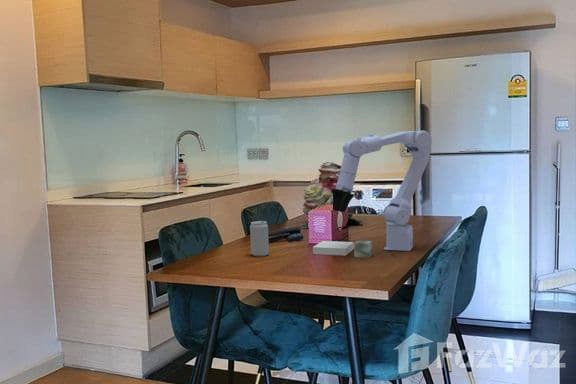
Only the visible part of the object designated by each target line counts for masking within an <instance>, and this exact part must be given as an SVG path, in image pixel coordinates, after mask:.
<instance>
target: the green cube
mask: <svg viewBox="0 0 576 384" xmlns="http://www.w3.org/2000/svg"><path fill="white" fill-rule="evenodd" d="M372 248H373V247H372V240H356V241H355V242H354V249H353V250H354V255H353V256H354V258H362V257H363V258H365V259H369V258H371V256H372V255H373V253H372V252H373V249H372Z"/></svg>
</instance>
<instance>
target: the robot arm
mask: <svg viewBox="0 0 576 384" xmlns="http://www.w3.org/2000/svg"><path fill="white" fill-rule="evenodd" d="M432 143H433V140H432V138H431V135H430V133H429V132H428V131H426V130H424V129H423V130H408V131H399V132H394V133H392V134H387V135H385V136H384V135H383V136H379V135H377V134H375V135H374V133H371V134H369V135H368V136H365V137H357V138H356V139H353V140H351V139H350V140H348V141H346V142H345V143H344V145H343V146H342V151H343V157H342V158H343V159H342V161H341V165H340V166H341V169H340V174H339V178H338V182H337V184H335V183H334V184H333V185H335V186H336V189H337V190H336V189H332V195H333V210H335V211H339V212H340V213H341V212H342V213H345V212H346V210H347V208H348V206H349V204H350V202H351V200H352V199H353V198H354V197H355V193H353V192H352V191H354V185H355V180H356V177H357V176H356V175H357V172H358V167H359V164H360V160H361V157H362V156H364V155H367V154H370V153H375V152H379V151H380V150H381V149H382V147H384V146H389V145H393V144H394V145H395V144H401V145H404V147H405V148H406V149H407V150H408V152H409V153H410V154H411V157H412V160H411V163H410V165H409V167H408V169H407V171H406V174H405V175H404V178H403V179H402V182H401V184H400V186H399V188H398V191H397V193H396V196H394V197H393V198H391V200H390V201H389V203H388V204H387V205H386V206H384V209H383V210H382V217H383V219H384V220H385V224H386V225H385V226H386V227H385V228H386V229H385V233H386V235H385V237H386V242H385V243H386V244H385V246H384V247H383V250H384V251H405V252H409V251H411V250H412V249H413V247H414V241H413V240H414V239H413V238H414V235H413V234H414V233H413V232H414V230H413V229H414V228H413V225H410V224H407V223H408V222H409V221H410V218H411V211H412V209H413V208H412V205H411V203H410V202H411V200H412V198H413V196H414V194H415V192H416V189H417V188H418V185H419V183H420V181H421V179H422V177H423V174H424V172H425V170H426V167H427V165H428V163H429V161H430V155H431V145H432ZM344 189H345V190H344ZM333 210H332V211H333ZM335 211H334V212H335Z"/></svg>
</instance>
